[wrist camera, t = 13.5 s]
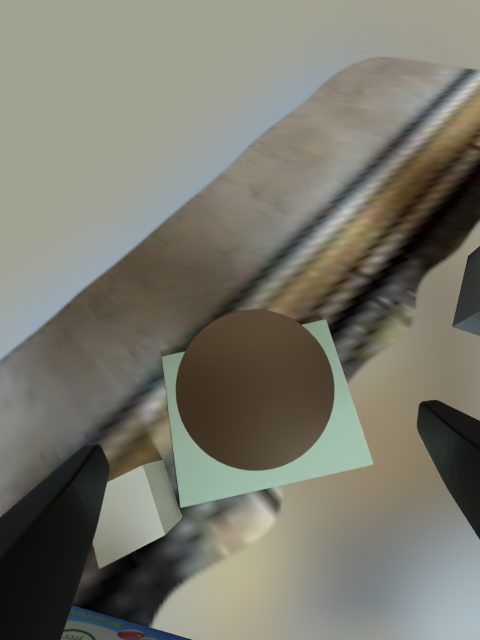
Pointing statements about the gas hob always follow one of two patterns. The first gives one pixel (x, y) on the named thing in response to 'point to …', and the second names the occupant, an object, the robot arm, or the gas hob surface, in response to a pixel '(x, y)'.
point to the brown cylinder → (255, 390)
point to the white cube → (135, 512)
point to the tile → (321, 459)
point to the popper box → (469, 297)
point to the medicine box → (108, 628)
